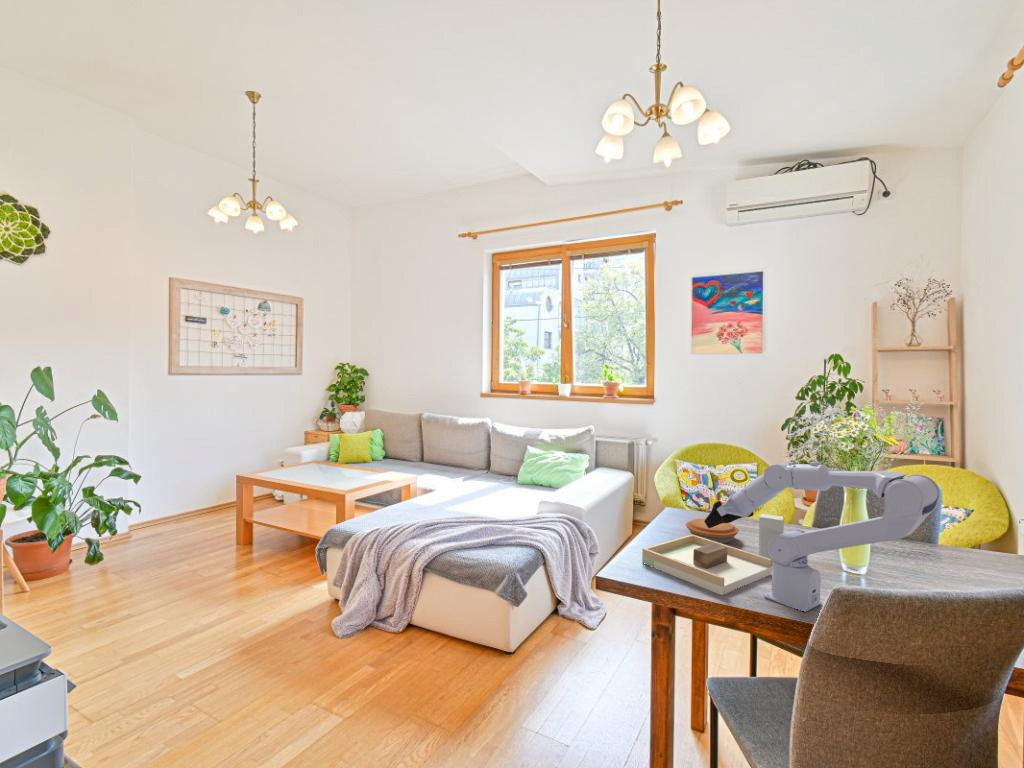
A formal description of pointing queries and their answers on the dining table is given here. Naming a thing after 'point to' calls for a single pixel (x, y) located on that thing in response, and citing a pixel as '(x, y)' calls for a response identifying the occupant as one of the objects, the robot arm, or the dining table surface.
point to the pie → (712, 531)
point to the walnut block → (710, 555)
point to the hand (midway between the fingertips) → (715, 522)
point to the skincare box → (769, 531)
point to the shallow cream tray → (717, 579)
